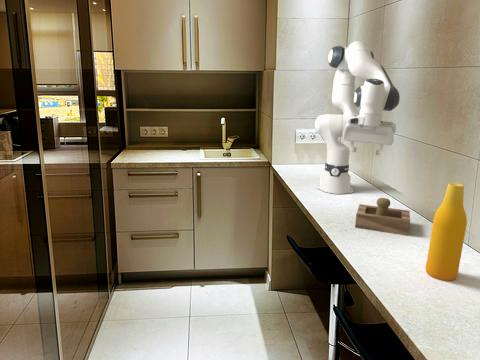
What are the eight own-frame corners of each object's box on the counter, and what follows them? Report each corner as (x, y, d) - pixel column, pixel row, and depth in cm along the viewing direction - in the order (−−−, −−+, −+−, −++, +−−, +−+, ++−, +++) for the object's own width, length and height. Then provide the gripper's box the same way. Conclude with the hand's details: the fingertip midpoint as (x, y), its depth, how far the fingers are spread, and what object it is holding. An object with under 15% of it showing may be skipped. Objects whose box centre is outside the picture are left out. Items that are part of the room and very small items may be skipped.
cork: (377, 220, 184) (380, 195, 181) (391, 225, 180) (394, 199, 177) (370, 224, 180) (373, 198, 177) (383, 228, 176) (387, 201, 173)
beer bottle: (454, 284, 132) (471, 190, 125) (422, 275, 137) (436, 184, 129) (459, 273, 139) (475, 184, 132) (428, 265, 144) (442, 178, 137)
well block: (358, 216, 190) (359, 204, 188) (407, 223, 183) (409, 210, 182) (354, 227, 176) (356, 214, 174) (408, 235, 170) (410, 222, 168)
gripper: (396, 121, 180) (392, 154, 184) (345, 116, 186) (342, 149, 190) (396, 123, 174) (391, 157, 178) (343, 119, 180) (340, 152, 184)
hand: (365, 153), depth 184 cm, fingers open, 8 cm apart
